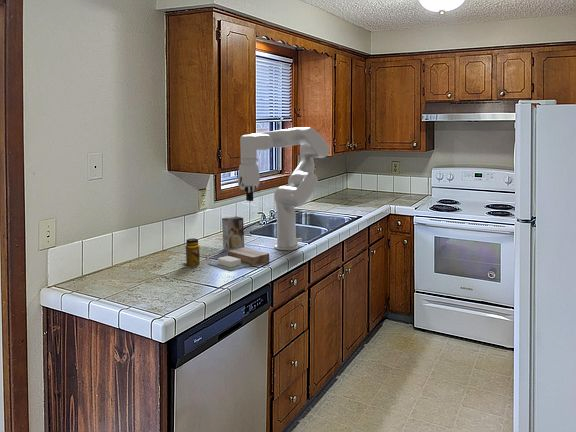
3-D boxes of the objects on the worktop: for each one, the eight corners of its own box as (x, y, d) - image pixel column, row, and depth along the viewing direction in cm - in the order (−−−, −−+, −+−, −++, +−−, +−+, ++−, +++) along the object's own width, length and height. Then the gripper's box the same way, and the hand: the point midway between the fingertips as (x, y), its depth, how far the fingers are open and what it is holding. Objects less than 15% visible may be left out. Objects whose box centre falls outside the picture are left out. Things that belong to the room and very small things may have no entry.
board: (244, 255, 265) (243, 247, 264) (269, 261, 253) (269, 253, 252) (227, 259, 258) (227, 250, 258) (253, 266, 246) (252, 257, 245)
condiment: (201, 266, 246) (200, 240, 244) (182, 268, 244) (181, 241, 242) (200, 262, 253) (198, 237, 251) (181, 263, 251) (180, 238, 249)
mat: (228, 259, 257) (228, 258, 257) (250, 265, 246) (250, 264, 246) (208, 264, 249) (208, 263, 249) (230, 271, 238) (230, 270, 238)
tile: (217, 258, 248) (218, 263, 249) (230, 261, 242) (230, 267, 242) (228, 255, 252) (228, 261, 253) (240, 259, 246) (240, 264, 247)
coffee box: (238, 246, 284) (237, 216, 281) (244, 248, 279) (243, 217, 276) (222, 249, 278) (221, 218, 275) (229, 251, 273) (228, 219, 270)
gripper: (255, 160, 263) (256, 198, 266) (231, 162, 252) (232, 201, 256) (266, 161, 258) (266, 199, 261) (241, 163, 247) (242, 203, 250)
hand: (249, 200), depth 258 cm, fingers closed
